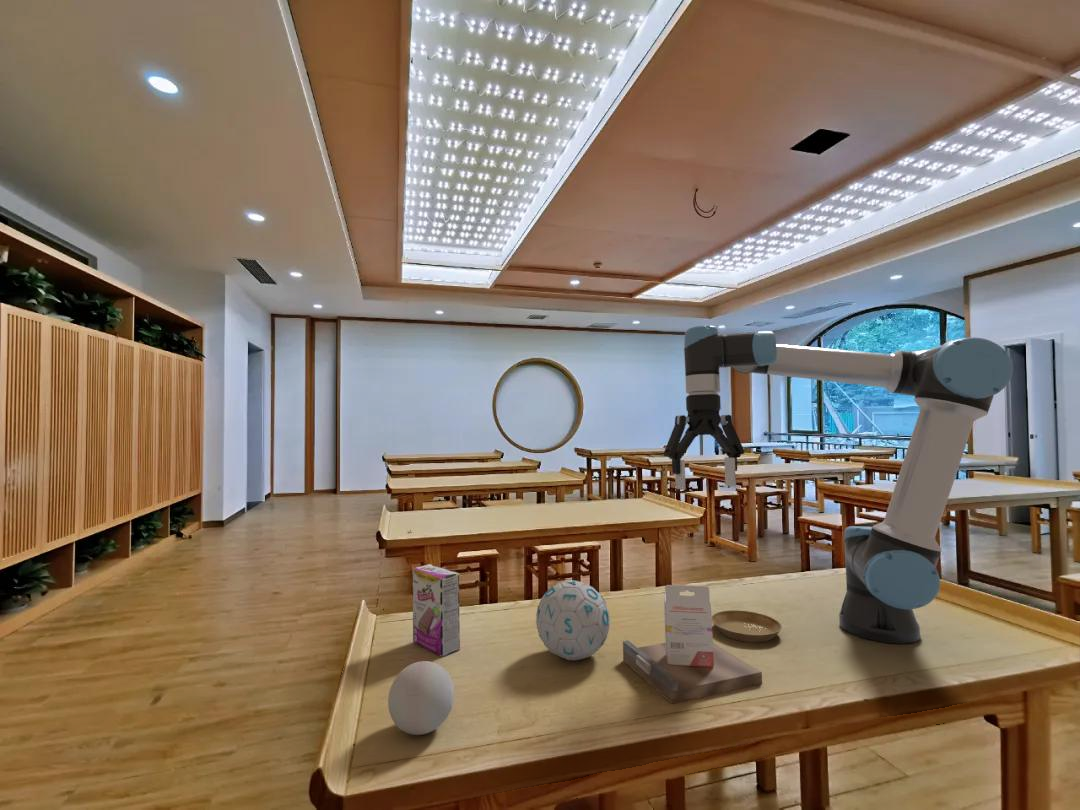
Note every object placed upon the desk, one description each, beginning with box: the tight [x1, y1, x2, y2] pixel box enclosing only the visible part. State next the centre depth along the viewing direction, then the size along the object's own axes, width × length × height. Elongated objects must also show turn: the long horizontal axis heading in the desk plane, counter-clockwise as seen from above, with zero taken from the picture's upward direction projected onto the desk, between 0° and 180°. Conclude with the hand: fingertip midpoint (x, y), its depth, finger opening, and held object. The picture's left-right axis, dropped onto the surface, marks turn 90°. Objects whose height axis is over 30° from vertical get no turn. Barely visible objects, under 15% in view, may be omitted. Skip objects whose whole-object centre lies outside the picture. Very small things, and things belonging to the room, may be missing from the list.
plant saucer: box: [712, 609, 783, 643], centre depth 114 cm, size 15×15×3 cm
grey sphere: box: [387, 660, 455, 736], centre depth 79 cm, size 10×10×10 cm
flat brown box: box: [622, 640, 763, 704], centre depth 96 cm, size 20×17×4 cm
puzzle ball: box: [535, 579, 610, 661], centre depth 104 cm, size 15×15×15 cm
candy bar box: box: [411, 563, 461, 657], centre depth 110 cm, size 11×5×16 cm, turn 47°
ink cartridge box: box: [663, 584, 714, 667], centre depth 97 cm, size 9×5×15 cm, turn 78°
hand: (705, 487), depth 115 cm, fingers open, 13 cm apart
